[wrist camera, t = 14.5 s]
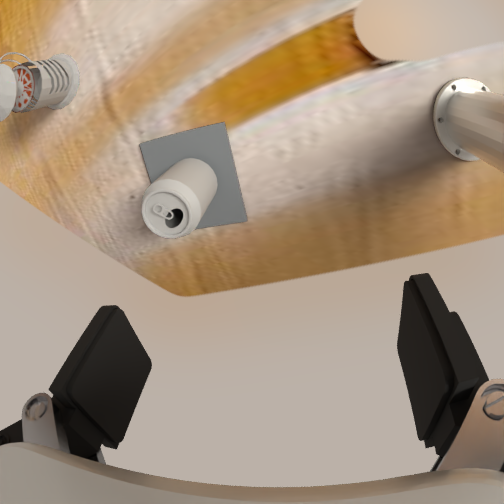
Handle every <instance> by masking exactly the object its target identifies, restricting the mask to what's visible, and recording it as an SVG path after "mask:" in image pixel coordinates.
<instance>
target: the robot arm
mask: <svg viewBox="0 0 504 504" xmlns="http://www.w3.org/2000/svg"><path fill="white" fill-rule="evenodd" d="M451 86H452V88H451ZM438 118H439V121H438ZM433 120H434V126H435V131H436V133H437V136H438V138H439V140H440V142H441V144H442V145H443V146H444V147H445V149H446V150H447V151H449V152H450V153H451V154H452V155H454V156H455V157H457V158H460V159H462V160H466V161H476V160H480V159H481V160H483V161H485V162H486V163H488V164H490V165H492V166H493V167H495V168H497V169H498V170H500V171H501V172H503V173H504V95H502V94H497V93H492V92H491V90H490V89H489V88H488V87H487V86H485V85H484V84H483V83H481V82H479V81H477V80H475V79H470V78H458V79H454V80H452V81H450V82H448V83H447V84H446V85H445V86H444V87H443V88H442V89H441V90H440V92H439V94H438V96H437V98H436V101H435V104H434V111H433ZM455 151H456V152H455ZM397 349H398V354H399V358H400V362H401V366H402V369H403V373H404V377H405V381H406V385H407V389H408V393H409V398H410V402H411V406H412V411H413V415H414V420H415V425H416V430H417V435H418V438H419V440H420V441H422V440H424V442H425V447H426V448H429V447H433V446H435V449H436V454H437V455H439V457H438V459H437V460H436V462H435V464H434V465H433V467H432V469H431V470H430V472H426V473H420V474H414V475H409V476H401V477H395V478H390V479H383V480H376V481H369V482H361V483H352V484H342V485H341V484H340V485H329V486H313V487H283V488H282V487H275V488H274V487H244V486H228V485H217V484H207V483H198V482H191V481H183V480H177V479H170V478H165V477H159V476H153V475H149V474H144V473H139V472H134V471H130V470H126V469H122V468H118V467H113V466H110V465H106V463H105V460H104V457H103V454H102V451H101V448H100V447H101V444H103V445H104V446H105V447H110V448H113V449H117V447H118V445H119V443H120V442H121V441H122V440H123V439H124V436H125V433H126V431H127V428H128V425H129V423H130V420H131V418H132V415H133V413H134V410H135V407H136V405H137V403H138V400H139V398H140V395H141V392H142V390H143V388H144V385H145V383H146V380H147V377H148V375H149V373H150V371H151V366H152V363H151V359H150V358H149V356H148V354H147V353H146V351H145V349H144V347H143V346H142V344H141V342H140V341H139V339H138V337H137V335H136V334H135V332H134V330H133V328H132V326H131V325H130V323H129V321H128V319H127V317H126V316H125V314H124V312H123V311H122V310H121V309H120V308H119V307H118V306H116V305H113V306H112V305H111V306H102V307H101V308H100V309H99V310H98V312H97V313H96V315H95V316H94V317H93V319H92V320H91V322H90V323H89V325H88V327H87V328H86V330H85V331H84V333H83V334H82V336H81V337H80V339H79V340H78V342H77V343H76V345H75V347H74V348H73V350H72V351H71V353H70V355H69V356H68V358H67V360H66V361H65V363H64V364H63V366H62V368H61V369H60V371H59V373H58V374H57V376H56V378H55V379H54V381H53V383H52V384H51V386H50V388H49V390H50V392H51V393H52V394H53V397H52V398H51V397H50V396H49V395H48V394H46V393H38V394H35V395H34V396H32V397H31V398H30V399H29V400H28V401H27V402H26V404H25V405H24V407H23V410H22V419H21V420H19V421H18V422H16V423H14V424H12V425H10V426H8V427H7V428H5V429H3V430H1V431H0V504H504V379H492V380H490V381H489V379H488V376H487V374H486V372H485V369H484V367H483V365H482V362H481V360H480V358H479V356H478V354H477V352H476V349H475V347H474V345H473V343H472V341H471V339H470V337H469V335H468V333H467V331H466V329H465V327H464V325H463V323H462V321H461V319H460V317H459V315H458V314H457V313H456V312H449V310H448V308H447V306H446V304H445V302H444V300H443V298H442V297H441V295H440V293H439V291H438V289H437V287H436V285H435V284H434V282H433V280H432V278H431V277H430V275H429V274H428V273H425V274H418V275H411V276H410V278H409V281H405V282H404V290H403V301H402V309H401V318H400V326H399V334H398V341H397Z"/></svg>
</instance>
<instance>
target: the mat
mask: <svg viewBox="0 0 504 504" xmlns="http://www.w3.org/2000/svg"><path fill="white" fill-rule="evenodd" d="M140 148H141V151H142V154H143V158H144V161H145V164H146V168H147V171H148V174H149V177H150V180H151V184H152V183H153V182H154V181H156V180H157V179H158V178H159V177H160V176H161V175H163V174H164V173H165V172H166V171H167V170H168V169H170V168H171V167H172V166H173V165H174V164H176V163H177V162H178V161H181V160H183V159H188V158H194V159H199V160H201V161H203V162H205V163H207V164H208V165H209V166H210V167H211V168H212V169H213V171H214V173H215V175H216V177H217V184H218V186H217V191H216V194H215V196H214V197H213V199H212V201H211V203H210V204H209V206H208V208H207V209H206V211H205V213H204V214H203V216H202V218H201V220H200V221H199V223H198V225H197V227H196V228H195V229H199V228H206V227H212V226H219V225H225V224H232V223H239V222H246V221H247V215H246V211H245V207H244V202H243V198H242V194H241V190H240V185H239V181H238V177H237V173H236V168H235V164H234V160H233V156H232V151H231V147H230V143H229V139H228V134H227V130H226V126H225V122H221V123H217V124H212V125H208V126H204V127H200V128H195V129H191V130H187V131H183V132H180V133H176V134H172V135H168V136H165V137H161V138H158V139H154V140H151V141H147V142H144V143H141V144H140Z"/></svg>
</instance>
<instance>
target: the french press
mask: <svg viewBox="0 0 504 504" xmlns="http://www.w3.org/2000/svg"><path fill="white" fill-rule="evenodd" d="M8 54H18V55H22V56H23V57H25V58H26V59H28V60H29V61H30V62H26V63H22V64H21V63H19V62H17V61H15V60H10V59H8V60H2V61H1V59H2V58H3V57H4V56H6V55H8ZM5 61H12V62H16V63H18V64H20V65H18V66H15V67H14V68H13V69H11V67H9V66H7V65H4V64H0V121H3V120H4V119H5V118H7V117H8V116H9V115H10V113H11V111H13V112H15V113H17V112H21V113H22V112H27V111H31V110H35V109H39V108H42V107H46V106H47V107H49V108H51V109H62V108H63V107H65V106H67V105H68V104H70V102H71V101H72V99H73V98H74V97H75V95H76V93H77V90H78V87H79V80H80V72H79V69H78V65H77V63H76V61H75V60H74V59H73V58H72V57H71V56H69V55H67V54H64V53H62V54H57V55H54V56H52V57H51V58H50V59H48V60H42V61H31V60H30V59H29V58H28V57H27V56H25V55H24V54H21V53H17V52H11V53H6V54H4V55H3V56H2V57H1V58H0V63H1V62H5ZM42 64H43V67H42V66H41V65H42ZM33 65H36V66H37V67H38V68H32V69H29V68H28V67H27V66H33ZM33 96H34V98H35V99H36V100H38V102H36V101H35V100H34V99H32V98H33ZM31 101H33V102H34V103H36V105H35V104H33V103H31ZM29 104H31V105H33V106H34V107H31V106H29ZM27 107H29V108H32V109H28V108H27Z"/></svg>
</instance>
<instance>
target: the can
mask: <svg viewBox="0 0 504 504" xmlns="http://www.w3.org/2000/svg"><path fill="white" fill-rule="evenodd" d="M217 186H218V184H217V177H216V175H215V173H214V171H213V169H212V168H211V167H210V166H209V165H208V164H207V163H205V162H203V161H201V160H199V159H194V158H188V159H183V160H181V161H178V162H177V163H176V164H174V165H173V166H172V167H171V168H170V169H168V170H167V171H166V172H165V173H164V174H163V175H161V176H160V177H159V178H158V179H157V180H156V181H154V182H153V183H152V184H151V185H150V186H149V187H148V188H147V189H146V190H145V193H144V195H143V197H142V206H141V207H142V210H141V213H142V217H143V220H144V222H145V224H146V226H147V227H148V228H149V229H150V230H151V231H152V232H153V233H155V234H156V235H158V236H160V237H163V238H167V239H171V238H178V237H182V236H185V235H188V234H190V233H191V232H192V231H193V230H194V229H195V228H196V227H197V225H198V223H199V221H200V220H201V218H202V216H203V214H204V213H205V211H206V209H207V208H208V206H209V204H210V203H211V201H212V199H213V197H214V196H215V194H216V191H217Z"/></svg>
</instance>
